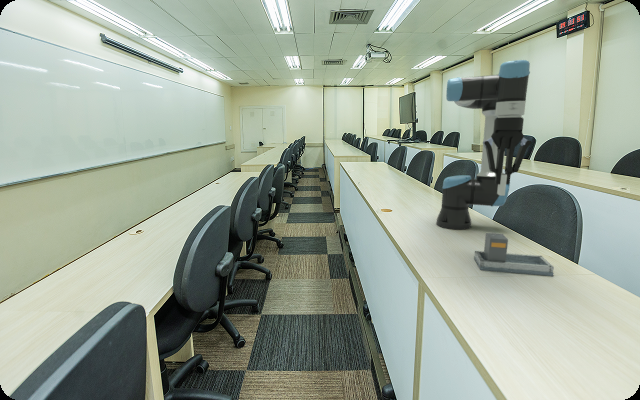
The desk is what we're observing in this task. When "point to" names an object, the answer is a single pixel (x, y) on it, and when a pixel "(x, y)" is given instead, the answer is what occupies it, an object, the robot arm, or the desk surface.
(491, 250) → the block
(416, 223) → the desk surface
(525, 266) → the shallow grey tray
